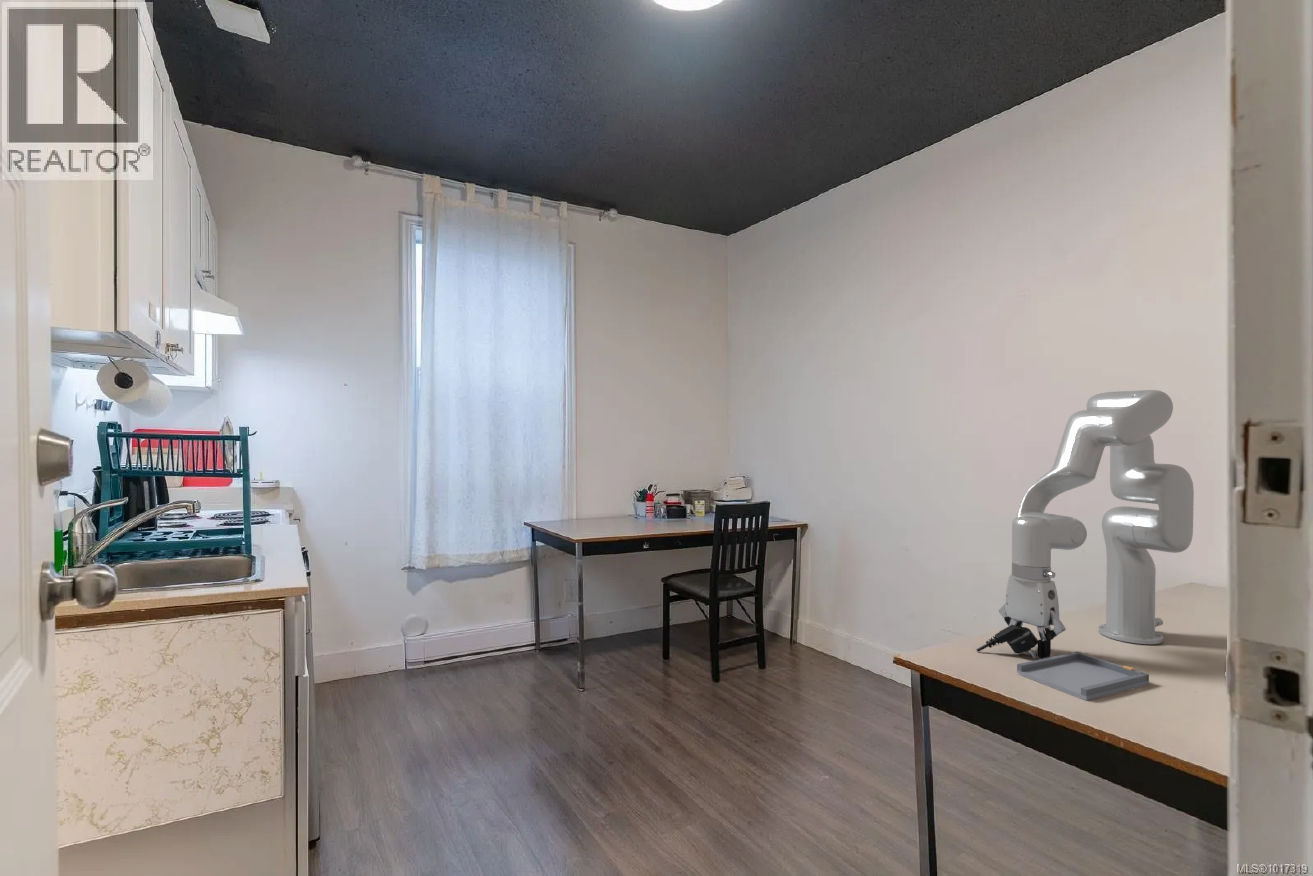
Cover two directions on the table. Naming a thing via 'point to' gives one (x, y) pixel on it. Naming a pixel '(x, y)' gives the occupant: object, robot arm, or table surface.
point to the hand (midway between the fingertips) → (1030, 651)
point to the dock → (1083, 675)
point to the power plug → (1014, 639)
